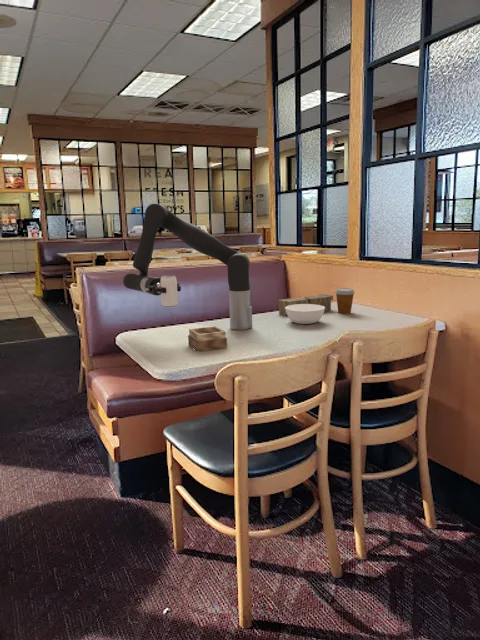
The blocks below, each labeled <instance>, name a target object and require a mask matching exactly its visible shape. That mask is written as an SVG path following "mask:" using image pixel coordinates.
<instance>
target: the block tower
mask: <svg viewBox="0 0 480 640" xmlns="http://www.w3.org/2000/svg"><path fill="white" fill-rule="evenodd" d="M333 300H334V295H333V294H326V293H321V294H316V295H307V296H304V297H300V296H299V297H294V298H285V299H278V314H279V315H280V316H288V315H287V314H286V310H285V307H286V306H289V305H295V304H315V305H321V306H324V307H325V309H324V312H329V311H331V310H332V301H333Z"/></svg>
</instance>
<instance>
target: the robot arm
mask: <svg viewBox="0 0 480 640" xmlns="http://www.w3.org/2000/svg"><path fill="white" fill-rule="evenodd" d="M160 228H162V229H164V230H166V231H168V232H170V233H172V234H174V235H175V236H176V238H178V239H179V240H180V241H182V242H183V243H184V244H186V245H187V246H188V247H190V248H192V249H193V250H195V251H196V252H198V253H200V254H203V255H205V256H208V257H210V258H213V259H216V260H217V261H219V262H221V263H222V264H224V265H226V266H227V284H228V290H229V291H228V296H229V325H230V329H231V330H235V331H236V330H237V331H240V330H241V331H243V330H248V329H252V328H253V306H251V290H250V289H251V287H250V286H251V284H250V273H249V271H250V270H249V269H250V266H251V263H250V262H251V261H250V259H249V257H248V256H247V254H245V253H242V252H240V251H238V250H235V249H233V248H231V247H229V246H227V245H226V244H225V243H223V242H222V241H220V240H219V239H217V238H216V237H214V236H213V235H211V234H210V233H209V232H207V231H205V230H204V229H202V228H201V227H199V226H197V225H195V224H193V223H190V222H189V221H186V220H183V219H182V218H180V217H179V216H177V215H176V214H175V213H173V212H172V211H171V210H169V209H168V208H167V207H165V206H164V205H162V204H160V203H157V202H156V203H155V202H153V203H150V204H149V205H148V206H147V207H146V209H145V212H144V217H143V226H142V231H141V234H140V239H139V241H138V242H139V243H138V246H137V249H136V251H135V255H134V258H133V262H132V267H133V268H134V269H136V270H137V271H139V274H136V273H133V272H128V273H126V274H125V275H124V277H123V280H122V284H123V286H124V287H125V288H127V289H129V290H134V291H138V292H142V293H145V294H149V295H153V296H161V293H166V288H163V287H161V284H160V280H161V278H160V277H156V276H152V275H151V276H149V274H148V273H149V266H150V264H151V261H152V258H153V255H154V247H155V240H156V236H157V234H158V230H159V229H160ZM181 290H182V286H181V285H180V283H178V282H177V292H181Z"/></svg>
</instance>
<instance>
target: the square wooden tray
mask: <svg viewBox="0 0 480 640" xmlns="http://www.w3.org/2000/svg"><path fill="white" fill-rule="evenodd" d="M188 333H189V335H190V336H191V337H192V338H194V339H195V340H197V341H206V340H214V339H222V338H227V337H226V331H225V330H223V329H221V328H220V327H217V326H216V325H212V326H204V327H195V328H189V329H188Z"/></svg>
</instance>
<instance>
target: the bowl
mask: <svg viewBox="0 0 480 640" xmlns="http://www.w3.org/2000/svg"><path fill="white" fill-rule="evenodd" d="M324 309H325V307H324V306H321V305H315V304H295V305H289V306H286V307H285V310H286V314H287V315H286V316H287V318H288V319H289V320H290V322H292V323H294V324H297V325H298V324H299V325H310V324H311V325H312V324H314V323H317V322H319V321H320V320H321V319H322V317H323V315H324V313H325V311H324Z"/></svg>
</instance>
